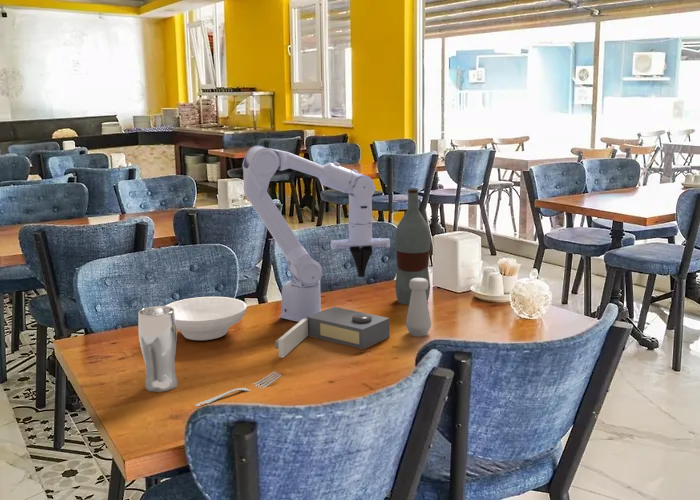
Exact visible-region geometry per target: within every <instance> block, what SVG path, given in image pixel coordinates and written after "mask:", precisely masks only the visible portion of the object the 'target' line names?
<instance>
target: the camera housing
mask: <svg viewBox="0 0 700 500" xmlns="http://www.w3.org/2000/svg"><path fill="white" fill-rule="evenodd" d="M307 318H308V336H307V337H311V338H316V339H320V340H323V341H327V342H332V343H335V344H340V345H345V346H349V347H353V348H356V349H360V350H364V349H367V348H370V347H371V346H373V345H376V344H377V343H380V342H382V341H384V340H386V339H388V338H390V317H385V316H381V315H380V316H379V315H376V314H372V313H366V312H362V311H357V310H351V309H348V308H342V307H337V306H333V307H330V308H327V309H323V310H321V312H318V313H316V314H313V315H310V316H308V317H307Z"/></svg>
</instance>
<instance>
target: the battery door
mask: <svg viewBox="0 0 700 500" xmlns="http://www.w3.org/2000/svg"><path fill="white" fill-rule="evenodd" d="M307 337H309V336H308V318H303V319H302V320H301V321H300V322H297V323H296V324H294V325H293V326H292V327H291V328H290V329H289V330H287V331H286V332H285V333H284V334H283V335H282V336H280V337H279V338H278V339H276V340H274V341H275V342H274V343H275V349H277V350H278V358H282V359H283V358H285V357H286V356H287V355H288V354H289V353H291V351H293V350H294V349H295V348H296V347H297V346H298V345H299V344H300V343H301V342H303V341H304V340H305V339H306V338H307Z"/></svg>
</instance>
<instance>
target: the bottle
mask: <svg viewBox="0 0 700 500" xmlns="http://www.w3.org/2000/svg"><path fill="white" fill-rule="evenodd" d="M407 191H408V192H407V210H406V211H405V213H404V214H403V216H402V217H401V219H400V221H399V223H398V224H397V227H396V231H395V238H394V239H395V240H394V242H395V243H394V244H395V250H396V265H397V267H396V269H397V271H396V277H395V285H394V288H395V296H396V300H397V302H398V303H400V304H402V305H406V306H409V303H410V298H411V292H412V289H410V287H409V283H410V280H411V279H413V278H424V279H426V280H427V281H428V289H426V290H425V292H426V298H427V302H428V301H429V298H430V295H431V293H430V291H431V280H430V274H429V263H430V262H429V261H430V251H431V250H430V248H431V233H430V232H431V230H430V226H429V225H428V223H427V221H426V219H425V218H424V216H423V215H422V213H421V212H420V209H419V189H418V188H417V187H416V188H414V187H412V188H411V187H409V188H408V189H407Z"/></svg>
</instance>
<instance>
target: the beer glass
mask: <svg viewBox="0 0 700 500" xmlns="http://www.w3.org/2000/svg"><path fill="white" fill-rule="evenodd" d="M137 314H138V315H137V316H138V317H137V318H138V321H137V322H138V323H137V324H138V325H137V326H138V330H137V331H138V340H139V346H140V349H141V353H142V357H143V361H144V365H145V381H144V388H145V389H146V391H148V392H151V393H153V392H154V393H163V392H167V391H171V390H173V389H176V388H177V387H178V384H179V382H178V379H177V374H176V368H175V361H176V360H175V359H176V351H177V341H178V340H177V339H178V332H177V331H178V330H177V328H176V320H175V314H174V309H173V308H172V307H168V306H166V305H154V306H149V307H148V306H147V307H144V308H142V309H140V310H139V311H138V312H137Z"/></svg>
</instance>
